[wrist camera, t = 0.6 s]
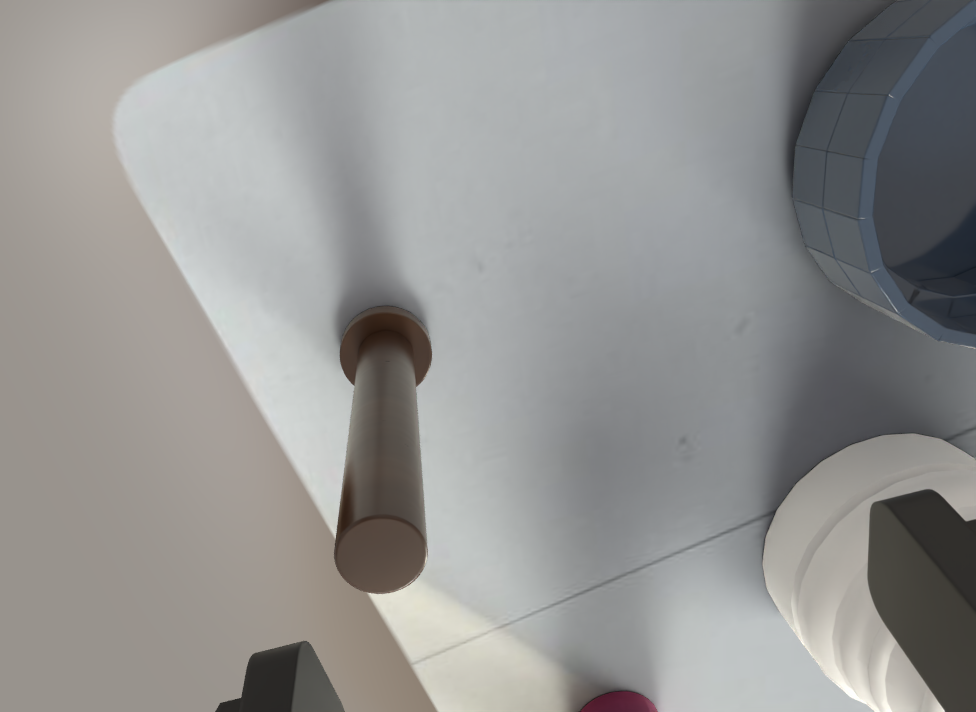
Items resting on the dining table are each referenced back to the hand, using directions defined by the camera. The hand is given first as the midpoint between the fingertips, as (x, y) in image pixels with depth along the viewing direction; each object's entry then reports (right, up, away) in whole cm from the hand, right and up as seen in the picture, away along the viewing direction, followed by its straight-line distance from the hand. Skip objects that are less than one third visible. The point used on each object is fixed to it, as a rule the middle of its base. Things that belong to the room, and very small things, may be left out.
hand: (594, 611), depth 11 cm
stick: (-6, +4, +24) cm, 25 cm away
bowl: (+19, +13, +24) cm, 33 cm away
